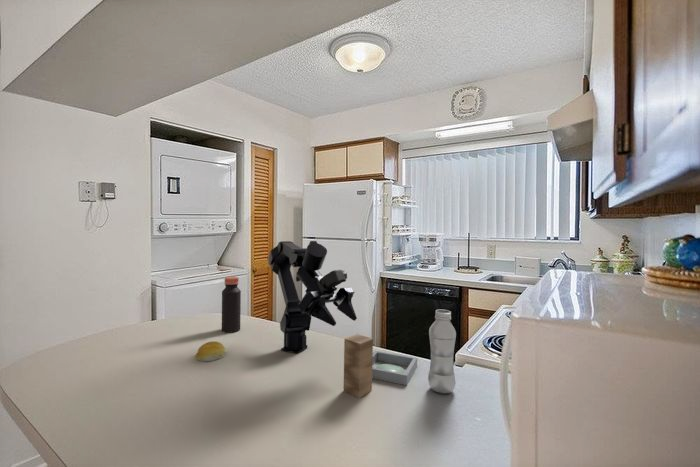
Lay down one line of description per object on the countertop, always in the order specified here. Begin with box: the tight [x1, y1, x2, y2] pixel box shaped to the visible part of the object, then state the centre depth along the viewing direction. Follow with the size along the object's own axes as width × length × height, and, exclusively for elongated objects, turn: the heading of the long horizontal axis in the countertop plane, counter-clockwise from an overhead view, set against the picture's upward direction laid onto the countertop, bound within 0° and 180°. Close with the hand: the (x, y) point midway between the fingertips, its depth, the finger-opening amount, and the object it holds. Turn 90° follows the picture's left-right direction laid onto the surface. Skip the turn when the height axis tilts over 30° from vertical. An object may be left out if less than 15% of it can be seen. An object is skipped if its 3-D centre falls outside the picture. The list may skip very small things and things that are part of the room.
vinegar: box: [221, 276, 242, 334], centre depth 128 cm, size 7×7×20 cm
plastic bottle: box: [427, 309, 457, 394], centre depth 85 cm, size 6×7×20 cm
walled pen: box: [372, 350, 418, 386], centre depth 96 cm, size 13×13×2 cm
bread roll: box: [195, 341, 227, 362], centre depth 104 cm, size 8×9×4 cm
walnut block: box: [343, 333, 374, 399], centre depth 84 cm, size 5×5×13 cm
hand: (345, 322), depth 90 cm, fingers open, 9 cm apart
